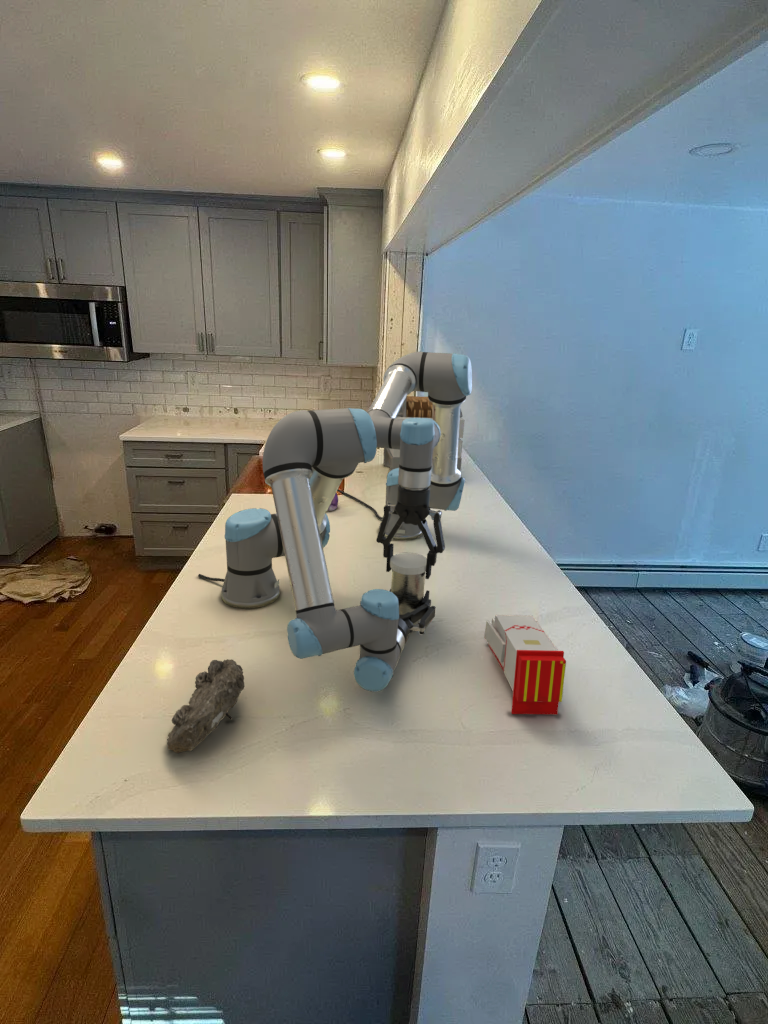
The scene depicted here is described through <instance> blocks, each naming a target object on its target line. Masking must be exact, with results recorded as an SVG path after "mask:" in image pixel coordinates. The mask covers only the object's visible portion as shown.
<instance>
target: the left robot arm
mask: <svg viewBox="0 0 768 1024" xmlns="http://www.w3.org/2000/svg"><path fill="white" fill-rule="evenodd" d="M367 412H368V411H366V409H365V410H364V409H363V408H351V407H345V408H329V409H311V410H306V409H304V410H303V409H302V410H296V411H292V412H290V413H288V414H286V415H285V416H283V417H282V418H281V419H280V420H278V421H277V422H276V423H275V425H274V426H273V428H272V429H271V430H270V433H269V434H268V437H267V439H266V441H265V444H264V448H263V452H262V472H263V477H264V478H263V479H264V482H265V484H266V485H268V486H269V487H271V491H272V498H273V503H274V508H275V513H271V512H270V511H269V510H268V509H266V508H261V507H259V508H256V507H253V508H246V509H242V510H238V511H237V512H234V513H232V514H231V515H230V516H229V517H228V518H227V519H226V521H225V523H224V524H225V525H224V540H225V552H226V553H225V555H226V573H225V576H224V578H219V577H211V576H206V575H204V574H201V573H198V575H197V577H199V578H201V579H204V580H206V581H212V582H222V583H223V584H222V586H221V600H222V601H223V603H224V604H226V605H227V606H230V607H233V608H235V609H236V608H237V609H257V608H262V607H265V606H268V605H270V604H272V603H274V602H275V601H276V600H278V598H279V597H280V585H279V584H280V579H277V577H276V574H275V572H274V569H273V559H274V558H280V557H284V558H285V563H286V569H287V574H288V579H289V584H290V589H291V594H292V595H291V596H292V598H293V605H294V609H295V616H296V617H295V618H294V619H293V618H292V619H290V620H289V622H288V623H287V627H286V633H287V643H288V646H289V648H290V651H291V653H292V655H293V656H294V657H296V658H297V659H300V660H303V659H308V658H313V657H322V656H323V655H326V654H329V653H333V652H337V651H341V650H344V649H348V648H353V647H358V646H359V656H358V659H357V661H356V662H355V665H354V670H353V677H354V680H355V682H356V683H357V685H358V686H359V687H361V688H362V689H364V690H365V691H369V692H373V693H375V692H376V693H377V692H380V691H382V690H384V689H386V688H387V687H388V685H389V683H390V681H391V680H392V678H393V677H394V672H395V671H396V669H397V665H398V663H399V660H400V658H401V655H402V653H403V650H404V648H405V645H406V643H407V641H408V639H409V636H410V634H412V633H413V632H418V634H419V635H425V630H426V628H427V627H428V626H429V625H430V623H431V622H432V621H433V619H435V617H436V611H437V610H436V609H437V606H436V605H432V600H431V599H430V590H425V592H424V597H423V600H422V606H420V607H419V608H417V609H415V610H414V611H412V612H411V613H410V612H408V613H406V614H404V615H399V602H398V598H397V597H396V596H395V595H394V594H393V593H392V592H391V588H390V589H389V590H388V589H383V588H375V589H373V588H372V589H370V590H367V591H366V592H364V593H363V594H362V595H361V599H360V602H359V605H355V606H350V607H346V608H345V607H344V608H341V609H336V606H335V600H334V595H333V590H332V585H331V581H330V576H329V570H328V566H327V560H326V557H325V552H324V548H325V547H326V546H327V544H328V542H329V540H330V533H331V524H330V520H329V516H328V515H327V512H328V511H327V510H328V508H329V506H330V504H331V502H332V500H333V498H334V496H335V494H336V493H337V492H338V491H337V490H338V489H340V486H341V484H342V482H343V480H344V479H346V478H348V477H350V476H351V475H352V474H354V473H355V471H356V469H357V467H358V465H359V464H361V463H364V464H367V463H370V462H372V461H373V460H374V459H375V457H376V454H377V448H378V447H377V440H376V432H375V427H374V424H373V421H372V419H371V417H370V415H369V414H368V413H367ZM418 620H420V621H418ZM417 621H418V623H417V624H416V625H413V623H415V622H417Z"/></svg>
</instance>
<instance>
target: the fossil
mask: <svg viewBox="0 0 768 1024" xmlns="http://www.w3.org/2000/svg"><path fill="white" fill-rule="evenodd" d="M243 670H244V669H243V667H242V665H240V664H237V662H236V661H235V660H234V659H232V658H231V659H227V658H226V659H224V660H223V661H222V660H217V659H212V660H211V661H210V663H209V665H208V666H207V671H201V672H199V673H198V674H197V675H196V676H195V680H194V684H195V685H194V687H195V689H194V690H193V693H192V694H191V697H190V698H189V700H188V704H184V705H182V706H181V707H180V709H177V710H176V711H175V713H174V715H173V716H172V718H171V723H172V724H173V727H172V730H171V731H170V732H168V734H167V738H166V741H167V742H166V745H167V749H168V750H169V751H173V752H174V753H176V754H178V753H182V752H188V751H189V752H192V751H193V750H195V748H196V747H197V746H199V744H200V743H201V742H203V741H204V740H205V739H206V738H207V737H208V736H209V735H210V734H211V733H212V732H214V730H215V729H217V727H218V726H219V724H220V722H221V721H222V720H223V719H224V718H225V716H226V717H227V719H229V720H233V717H232V715H230V714H229V710H230V709H231V708H234V706H235V704H236V703H237V702H238V699H239V697H240V695H241V693H242V691H243V690H245V689H244V688H245V675H244V671H243Z"/></svg>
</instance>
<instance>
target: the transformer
mask: <svg viewBox="0 0 768 1024" xmlns="http://www.w3.org/2000/svg"><path fill="white" fill-rule="evenodd" d="M432 412H433V403H432V402H430V401H429V399H428V396H415V395H414V396H413V395H412V396H411V395H407V396H406V399H405V401H404V403H403V405H402V407H401V409H400V411H399V413H398V415H397V417H396V418H398V419H409V418H429V419H432ZM464 429H465V419H464V418H463V411H462V408H461V407H460V424H459V440H458V457H457V469H459V471H460V472H462V461H463V460H462V453H463V442H464V441H463V440H462V439H463V438H464V431H465V430H464ZM399 462H400V450H398V449H390V448H383V466H384V467H388V468H389V472H390V471H391V470H393V469H396V468H399Z"/></svg>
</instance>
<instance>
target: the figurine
mask: <svg viewBox="0 0 768 1024" xmlns="http://www.w3.org/2000/svg"><path fill="white" fill-rule="evenodd" d="M338 506H339V496H338V493H337V492H336V494H335V496H334V498H333V500H332V502H331V504H330V506H329V508H328V510H327V512H331V511H335V510H336V509H338Z"/></svg>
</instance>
